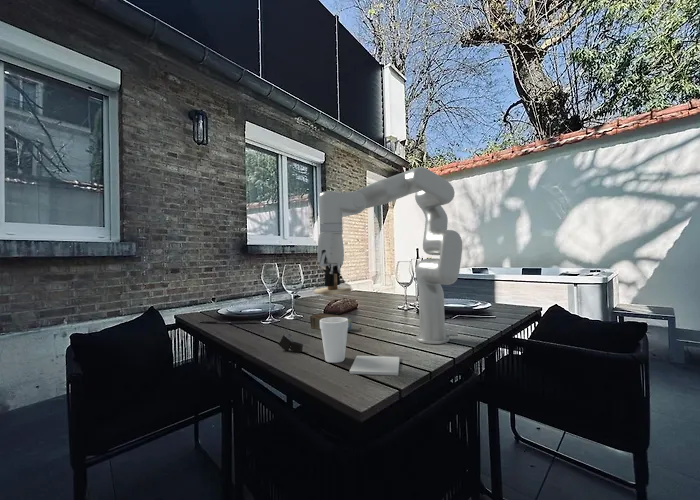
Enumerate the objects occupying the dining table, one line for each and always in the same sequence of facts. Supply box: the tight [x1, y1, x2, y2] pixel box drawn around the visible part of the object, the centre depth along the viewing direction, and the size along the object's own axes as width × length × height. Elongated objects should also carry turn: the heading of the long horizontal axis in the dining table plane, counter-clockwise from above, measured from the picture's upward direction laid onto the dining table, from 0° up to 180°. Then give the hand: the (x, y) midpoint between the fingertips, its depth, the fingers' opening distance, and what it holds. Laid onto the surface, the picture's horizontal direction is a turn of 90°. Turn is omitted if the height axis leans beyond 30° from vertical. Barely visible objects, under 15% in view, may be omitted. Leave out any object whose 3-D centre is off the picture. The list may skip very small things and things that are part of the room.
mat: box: [349, 355, 401, 376], centre depth 102 cm, size 14×14×1 cm
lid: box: [313, 274, 352, 296], centre depth 110 cm, size 12×12×6 cm
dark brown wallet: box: [277, 333, 304, 353], centre depth 120 cm, size 9×2×6 cm
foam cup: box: [319, 317, 349, 364], centre depth 110 cm, size 10×9×13 cm
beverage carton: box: [309, 312, 352, 332], centre depth 153 cm, size 8×19×6 cm, turn 54°
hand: (332, 285), depth 110 cm, fingers closed on lid, 3 cm apart
